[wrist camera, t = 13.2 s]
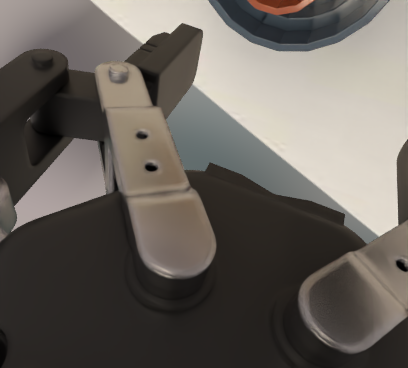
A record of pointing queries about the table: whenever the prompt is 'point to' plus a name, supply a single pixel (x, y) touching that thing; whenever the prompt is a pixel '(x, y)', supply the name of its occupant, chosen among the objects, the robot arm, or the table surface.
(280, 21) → the basin
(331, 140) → the table surface
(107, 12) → the table surface
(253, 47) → the table surface
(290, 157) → the table surface
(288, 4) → the cup
